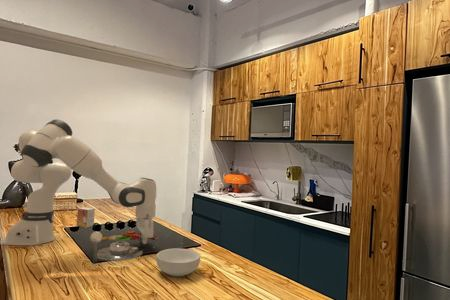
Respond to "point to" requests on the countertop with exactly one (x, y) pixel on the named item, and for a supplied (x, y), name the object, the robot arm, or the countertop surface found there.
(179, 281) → the countertop surface
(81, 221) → the small box
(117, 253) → the cover
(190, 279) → the countertop surface
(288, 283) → the countertop surface
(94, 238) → the lever with square base
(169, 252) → the cereal bowl
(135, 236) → the gear puzzle
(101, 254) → the turntable
